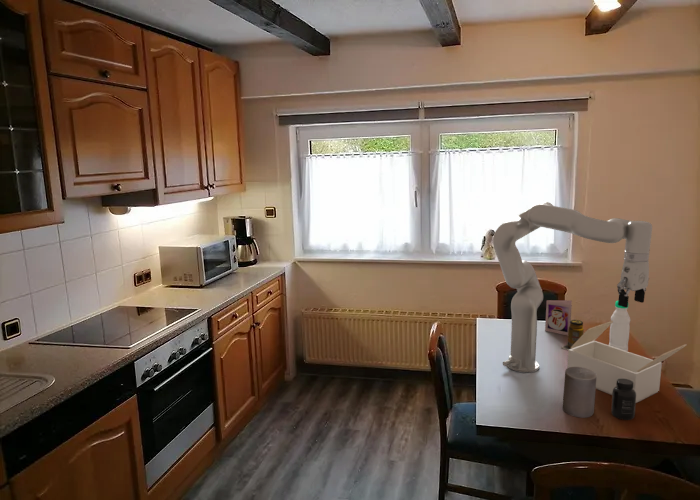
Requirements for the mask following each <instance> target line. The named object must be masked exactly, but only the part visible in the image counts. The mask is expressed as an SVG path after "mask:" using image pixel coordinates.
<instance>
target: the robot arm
mask: <svg viewBox="0 0 700 500" xmlns="http://www.w3.org/2000/svg"><path fill="white" fill-rule="evenodd" d="M540 228H546V229H551V230H555V231H559V232H564V233H569V234H572V235H574V236H578V237H582V238H584V239H586V240H592V241H596V242H600V243H604V244H616V243H618V242H621V241H622V240H623V239H624V240H625V246H624V254H623V264H622V269H621V274H620V279H619V282H618V283H617V284H616V287H617V294H618V300H617V301H618V305H619V306H622V307H628V308H629V305H628V304H629V294H630V292H631V291H632V292H634V302H638V303H644V302H645V296H646V291H647V287H648V286H649V280H650V278H649V277H650V262H649V258H650V251H651V243H652V233H653V224H652V223H651V222H649V221H644V220H630V219H629V220H628V219H623V218H617V217H615V218H614V217H612V218H610V219H609V220H603V219H598V218H593V217H590V216H588V215H585V214H582V213H581V212H580V211H578V210H576V209H573V208H566V207H561V206H556V205H553V204H552V203H551V202H549V201H540V202H537V203H535V204H533V205H532V206H530V207H529V209H527V210H525V211H523V212H522V213H519V214H517V215H516V216H514V217H512V218H509V219H508V220H506V221H504V222H502V223H501V225H499V226H498V228H497V229H496V230H495V232H494V233H493V237H492V247H493V249H494V253H495V254H496V257H497V260H498V264H499V266H500V270H501V272H502V275H503V278H504V280H505V283H506V284H507V286H508V287H510V288H511V289H516V291H517V292H516V293H515V294H514V295H513V297H512V299H511V303H510V311H511V330H510V331H511V333H510V335H511V337H510V355H509V356H508V359H507V360H505V361H502V366H504V367H507V368H509V369H510V370H512V371H515V372H519V373H535V372H537V371H538V370H539V369H540V364H539V363H538V361H536V356H537V355H536V352H537V335H538V334H537V333H538V316H537V311H538V309H539V307H540V305H542V302H543V300H544V293H543V290H542V287H541V284H540V280H539V279H538V276H537V273H536V270H535V269H534V267H533V265H532V264H531V263H530V262H529V261H527V260H524V259H522V256H521V253H520V251H519V249H518V247H517V245H516V243H517V242H518V240H520V239H522V238H525V236H527V235H529V234H530V233H532V232H534V231H537V230H538V229H540ZM625 290H626V291H625Z"/></svg>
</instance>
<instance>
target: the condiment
mask: <svg viewBox="0 0 700 500" xmlns="http://www.w3.org/2000/svg"><path fill="white" fill-rule="evenodd" d="M584 330H585V329H584V321H582V320H581V319H580V320H579V319H571V321H570V326H569V329H568V335H567V344H565V345H562V347H561V349H563V350H565V351H566V350H567V351H568V350H569V349H571V347H572V345H573V344H574V343H575V342H576V341H577V340H578V339H579V338H580V337H581V336H582V335H583V334H584V333H585V331H584ZM574 348H575V347H574Z"/></svg>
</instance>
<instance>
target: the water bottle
mask: <svg viewBox="0 0 700 500" xmlns="http://www.w3.org/2000/svg"><path fill="white" fill-rule="evenodd" d="M629 306H630V305H629V303H628V307H622V306H619V305H618V300H616V301H615V304H614V307H615V309H614V311H613V313H612V315H611V316H610V321H613V322H612V323H611V324H610V325H609V343H608V345H609V346H612V347H615V348H618V349H621V350H624V351H627V352H629V340H630V330H631V329H630V323H631V317H630V315H629V312H628V311H627V310H628V309H629Z"/></svg>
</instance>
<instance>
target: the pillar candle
mask: <svg viewBox="0 0 700 500" xmlns="http://www.w3.org/2000/svg"><path fill="white" fill-rule="evenodd" d="M596 378H597V375H596V373H595V372H594V371H592V370H590V369H587V368H584V367H569V368H566V369H565V370H564V383H563V384H564V386H563V395H562V397H563V398H562V410H563V411H564V412H565V413H566V414H567V415H569V416H572V417H576V418H583V419H584V418H585V419H586V418H590V417H592V416H593V415H594V412H595V400H596V390H597V389H596Z"/></svg>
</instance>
